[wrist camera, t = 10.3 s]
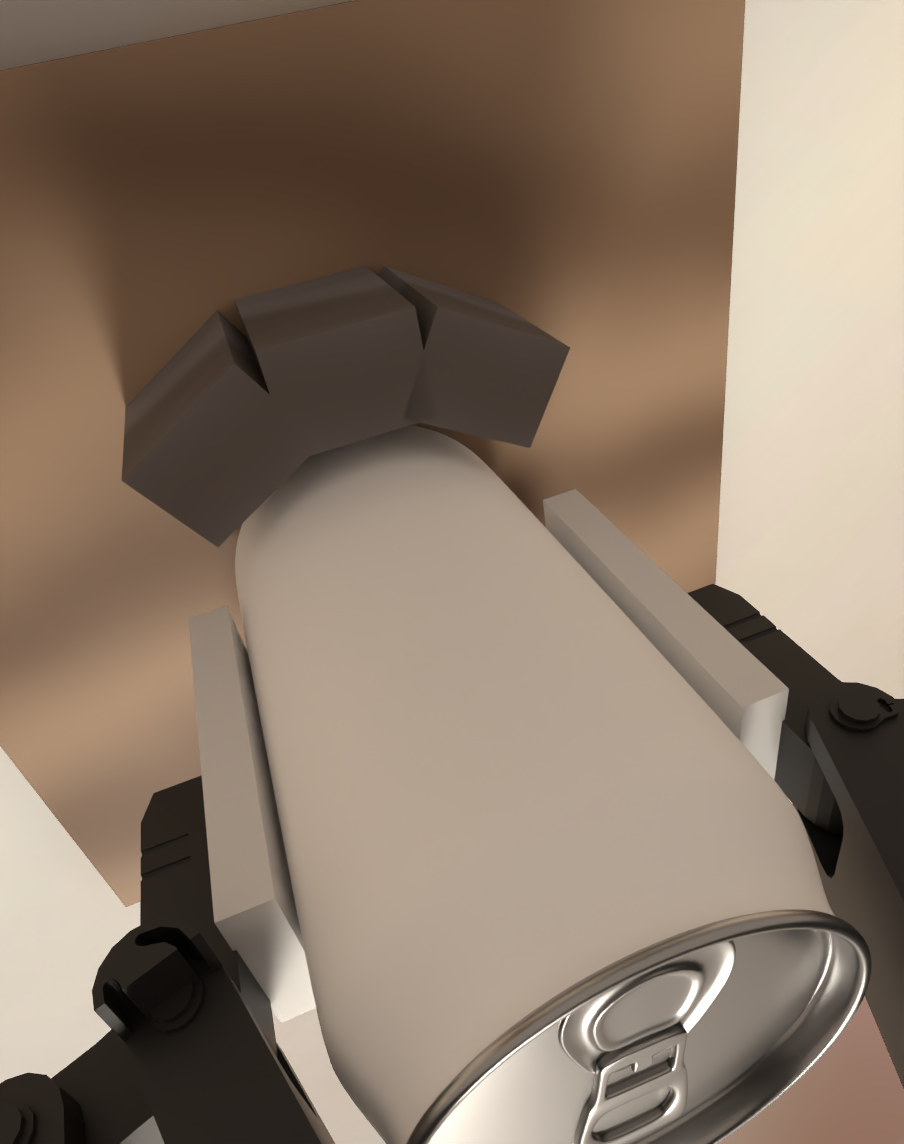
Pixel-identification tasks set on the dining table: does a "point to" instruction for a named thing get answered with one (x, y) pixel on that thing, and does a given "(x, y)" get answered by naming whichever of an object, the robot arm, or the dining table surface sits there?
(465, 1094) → the can
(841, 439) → the dining table surface
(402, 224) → the wooden board with blocks
